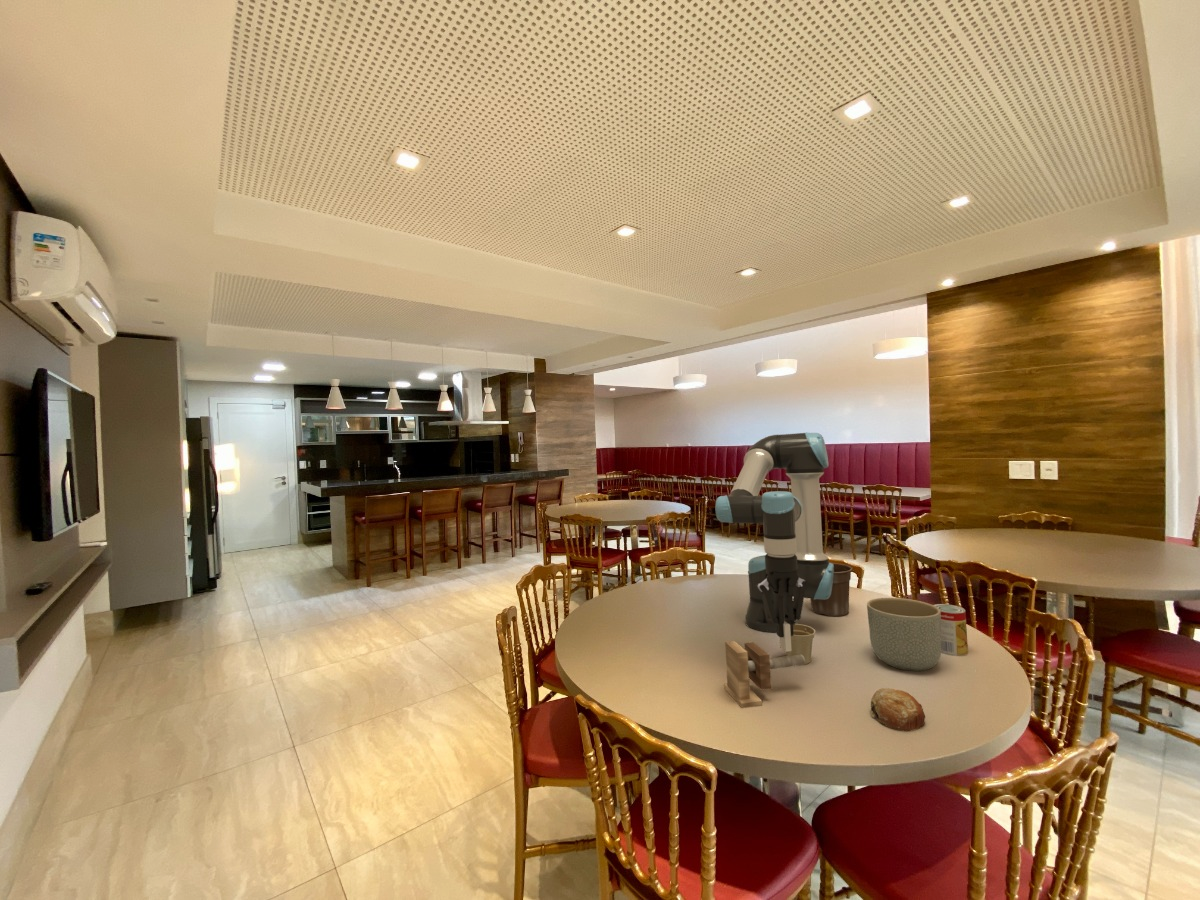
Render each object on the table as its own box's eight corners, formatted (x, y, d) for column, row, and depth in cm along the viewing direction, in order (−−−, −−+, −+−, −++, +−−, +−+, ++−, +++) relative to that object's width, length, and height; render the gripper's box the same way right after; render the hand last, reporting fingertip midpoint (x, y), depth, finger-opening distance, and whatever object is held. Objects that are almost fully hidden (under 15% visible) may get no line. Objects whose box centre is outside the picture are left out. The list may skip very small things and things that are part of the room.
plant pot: (797, 606, 181) (794, 563, 182) (837, 603, 183) (834, 560, 183) (821, 620, 165) (818, 573, 165) (865, 616, 167) (862, 570, 167)
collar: (755, 673, 121) (753, 642, 121) (771, 688, 113) (769, 654, 113) (745, 675, 121) (744, 643, 121) (761, 689, 113) (759, 655, 113)
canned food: (969, 649, 137) (967, 607, 137) (966, 658, 131) (963, 614, 131) (936, 642, 142) (934, 602, 142) (931, 651, 136) (929, 609, 137)
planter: (880, 645, 142) (877, 594, 142) (949, 661, 130) (946, 604, 130) (861, 665, 130) (858, 608, 130) (936, 684, 118) (932, 621, 118)
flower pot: (801, 670, 129) (799, 638, 129) (773, 658, 137) (772, 627, 137) (824, 662, 133) (822, 630, 133) (796, 650, 141) (795, 621, 141)
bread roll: (869, 724, 109) (853, 693, 108) (907, 701, 109) (891, 670, 109) (900, 750, 99) (883, 716, 99) (941, 724, 100) (923, 691, 99)
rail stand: (792, 679, 124) (790, 632, 124) (816, 697, 114) (813, 647, 114) (724, 687, 121) (721, 640, 121) (741, 707, 111) (739, 655, 111)
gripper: (796, 549, 124) (801, 640, 123) (749, 553, 122) (754, 646, 121) (813, 554, 116) (819, 652, 116) (763, 559, 114) (768, 658, 114)
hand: (785, 649), depth 119 cm, fingers closed
